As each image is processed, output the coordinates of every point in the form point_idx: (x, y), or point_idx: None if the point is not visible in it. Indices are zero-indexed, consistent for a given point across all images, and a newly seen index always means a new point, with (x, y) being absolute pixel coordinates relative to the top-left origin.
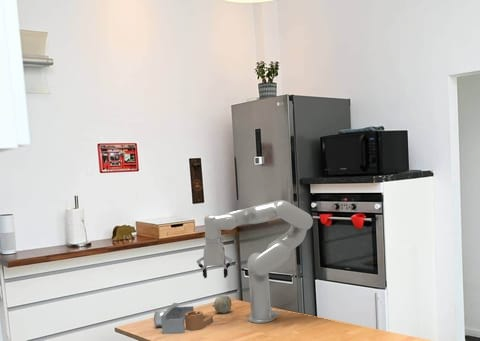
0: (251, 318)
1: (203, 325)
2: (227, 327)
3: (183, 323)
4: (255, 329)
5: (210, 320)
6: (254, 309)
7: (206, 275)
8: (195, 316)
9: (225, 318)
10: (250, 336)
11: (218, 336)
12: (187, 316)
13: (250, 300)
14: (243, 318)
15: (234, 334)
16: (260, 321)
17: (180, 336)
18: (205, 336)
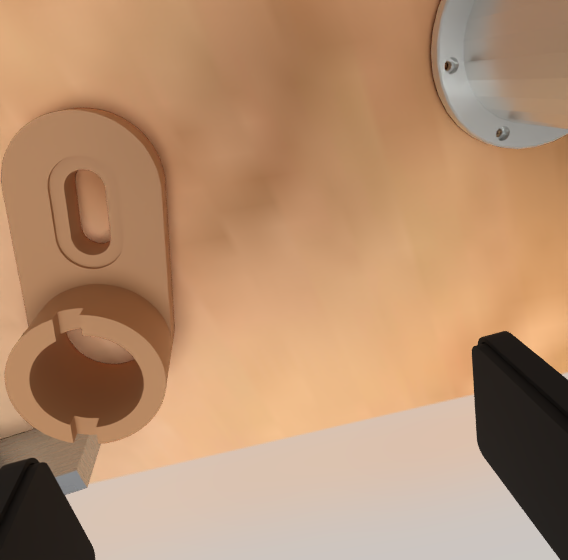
0: (469, 91)
1: (172, 318)
2: (332, 271)
3: (92, 463)
4: (516, 274)
5: (165, 212)
6: (552, 123)
7: (47, 526)
8: (142, 422)
9: (220, 41)
10: None
11: (342, 424)
12: (75, 435)
13: (565, 82)
14: (376, 19)
15: (417, 378)
16: (540, 144)
17: (128, 474)
18: (271, 441)
